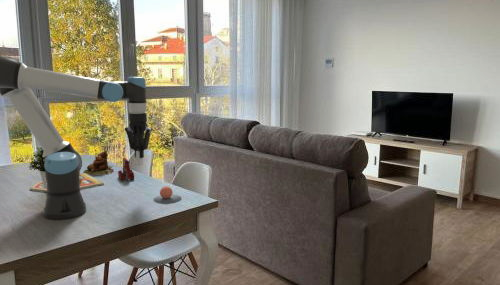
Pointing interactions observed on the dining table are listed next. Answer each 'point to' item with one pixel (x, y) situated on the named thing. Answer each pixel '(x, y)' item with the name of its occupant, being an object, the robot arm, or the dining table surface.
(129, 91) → the robot arm
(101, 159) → the bear figurine
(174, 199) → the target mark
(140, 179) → the dining table surface
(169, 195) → the ball
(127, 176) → the toy fire truck
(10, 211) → the dining table surface
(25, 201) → the dining table surface
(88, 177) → the knob puzzle
